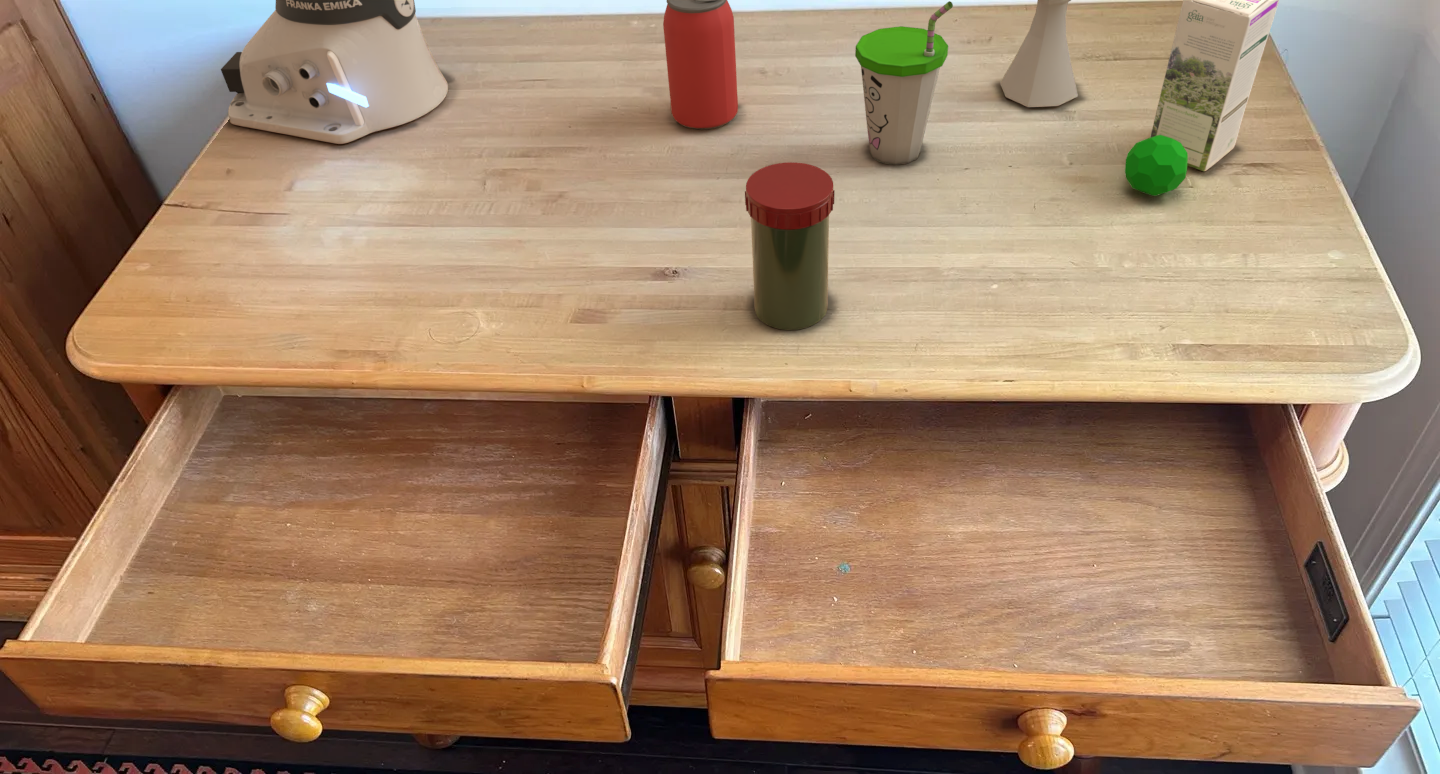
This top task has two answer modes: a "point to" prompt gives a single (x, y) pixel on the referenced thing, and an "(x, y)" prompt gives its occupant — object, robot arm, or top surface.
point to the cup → (900, 86)
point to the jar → (790, 274)
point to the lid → (789, 195)
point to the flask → (1043, 61)
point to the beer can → (701, 62)
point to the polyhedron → (1156, 165)
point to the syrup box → (1212, 75)
